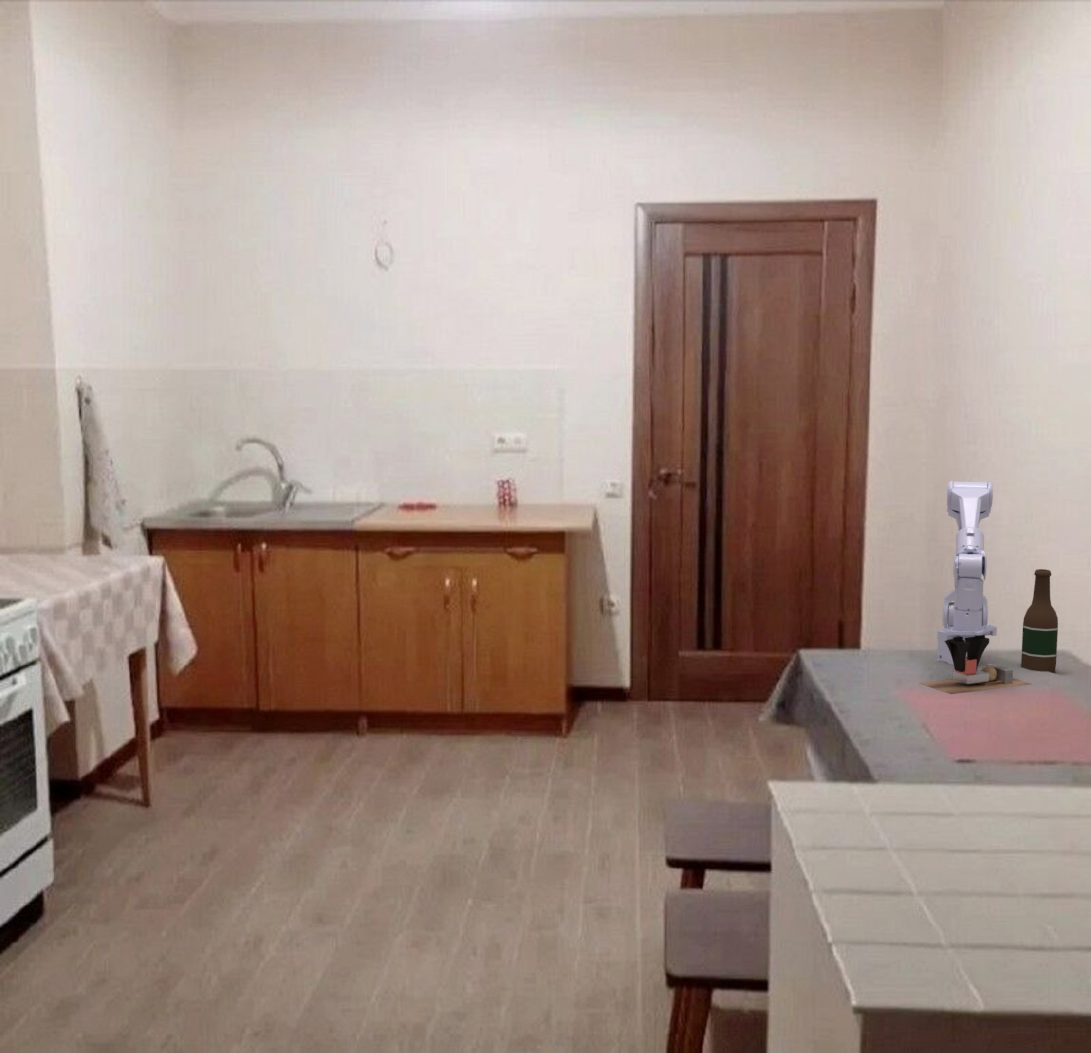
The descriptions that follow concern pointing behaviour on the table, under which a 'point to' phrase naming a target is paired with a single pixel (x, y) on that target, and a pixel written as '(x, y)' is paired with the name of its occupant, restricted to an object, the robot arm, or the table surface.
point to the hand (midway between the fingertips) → (965, 670)
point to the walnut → (990, 672)
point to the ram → (970, 673)
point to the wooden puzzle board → (1001, 681)
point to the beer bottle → (1040, 628)
